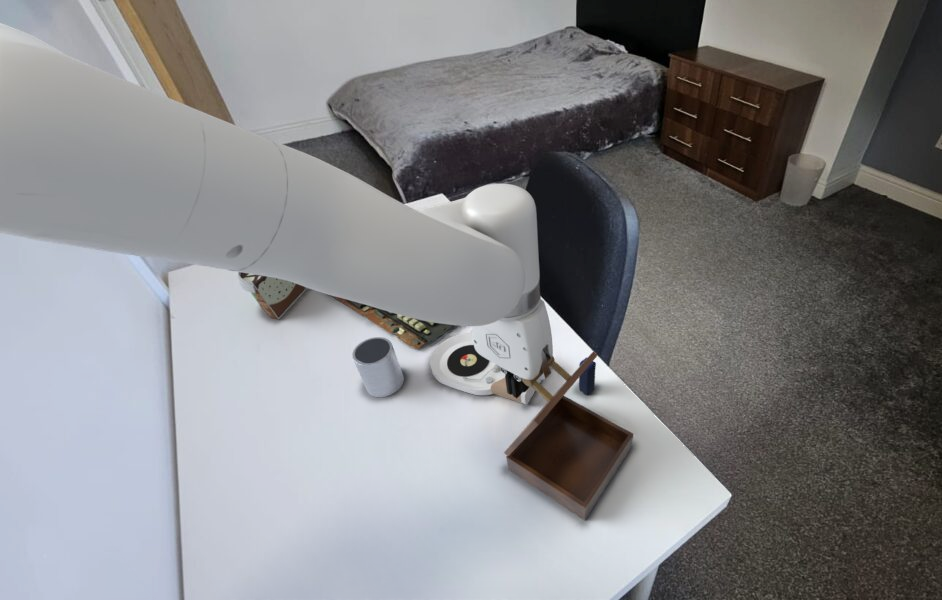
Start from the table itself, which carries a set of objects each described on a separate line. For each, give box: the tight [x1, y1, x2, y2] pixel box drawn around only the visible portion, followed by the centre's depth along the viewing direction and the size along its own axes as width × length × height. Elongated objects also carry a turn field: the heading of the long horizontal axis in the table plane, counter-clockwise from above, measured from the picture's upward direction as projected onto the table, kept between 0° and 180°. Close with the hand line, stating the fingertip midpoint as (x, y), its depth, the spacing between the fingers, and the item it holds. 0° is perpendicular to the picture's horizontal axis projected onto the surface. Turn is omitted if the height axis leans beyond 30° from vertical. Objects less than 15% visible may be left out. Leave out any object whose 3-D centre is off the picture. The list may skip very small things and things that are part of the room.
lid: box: [503, 351, 599, 456], centre depth 64 cm, size 14×13×5 cm
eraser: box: [578, 357, 597, 396], centre depth 77 cm, size 2×2×7 cm
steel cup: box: [351, 336, 405, 398], centre depth 77 cm, size 6×6×8 cm
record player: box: [429, 332, 543, 405], centre depth 81 cm, size 12×3×20 cm
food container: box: [237, 272, 308, 321], centre depth 91 cm, size 12×6×10 cm, turn 172°
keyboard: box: [333, 296, 455, 350], centre depth 97 cm, size 45×15×2 cm, turn 54°
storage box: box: [505, 395, 634, 521], centre depth 68 cm, size 13×13×4 cm
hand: (518, 388), depth 67 cm, fingers closed
